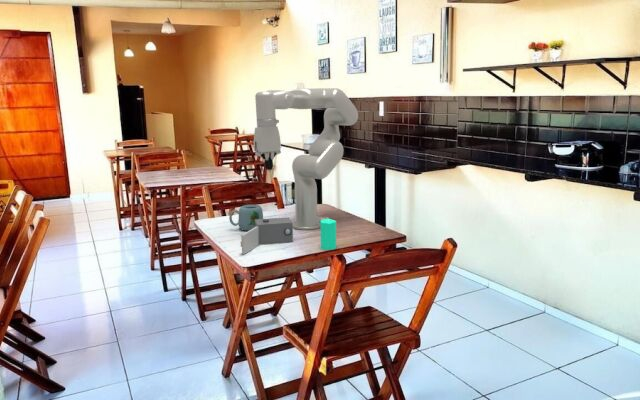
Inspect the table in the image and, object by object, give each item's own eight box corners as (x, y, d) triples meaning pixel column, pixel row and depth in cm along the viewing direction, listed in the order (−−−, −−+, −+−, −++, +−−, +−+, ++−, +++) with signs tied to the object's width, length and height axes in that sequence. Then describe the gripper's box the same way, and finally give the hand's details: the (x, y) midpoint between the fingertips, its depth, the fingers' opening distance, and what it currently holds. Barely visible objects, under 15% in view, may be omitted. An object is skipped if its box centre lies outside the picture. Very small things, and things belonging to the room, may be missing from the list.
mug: (233, 234, 221) (232, 211, 219) (226, 228, 231) (225, 206, 229) (267, 230, 227) (266, 207, 224) (259, 224, 236) (259, 202, 234)
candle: (320, 245, 204) (319, 215, 201) (335, 244, 204) (335, 215, 202) (321, 250, 198) (321, 219, 195) (337, 249, 198) (337, 218, 196)
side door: (244, 254, 192) (243, 235, 191) (240, 253, 193) (239, 235, 191) (259, 244, 205) (258, 226, 204) (256, 243, 206) (255, 225, 204)
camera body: (289, 236, 217) (288, 215, 215) (293, 242, 208) (292, 220, 206) (255, 238, 214) (254, 217, 212) (257, 244, 205) (257, 223, 203)
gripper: (279, 121, 214) (281, 166, 218) (245, 124, 207) (248, 170, 211) (287, 122, 208) (289, 168, 212) (252, 125, 201) (255, 172, 205)
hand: (269, 169), depth 212 cm, fingers closed
